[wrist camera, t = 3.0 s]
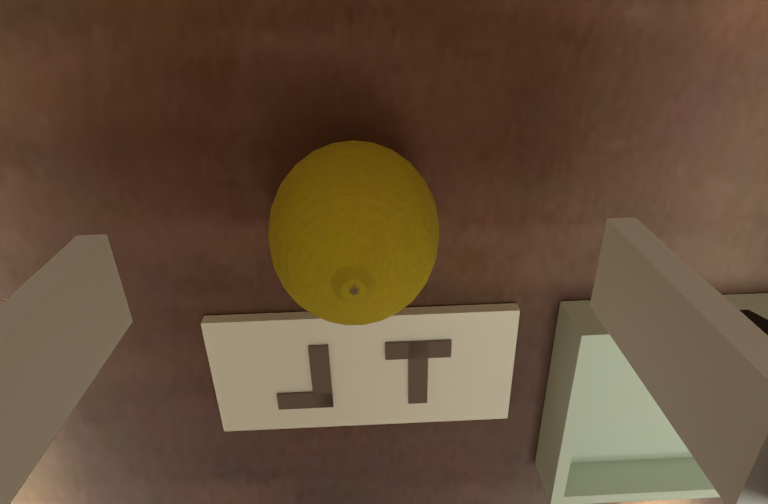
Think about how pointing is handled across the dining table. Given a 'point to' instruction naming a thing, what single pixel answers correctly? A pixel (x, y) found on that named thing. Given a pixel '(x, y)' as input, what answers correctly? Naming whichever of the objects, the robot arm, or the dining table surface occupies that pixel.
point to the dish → (611, 421)
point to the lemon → (353, 233)
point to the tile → (362, 367)
